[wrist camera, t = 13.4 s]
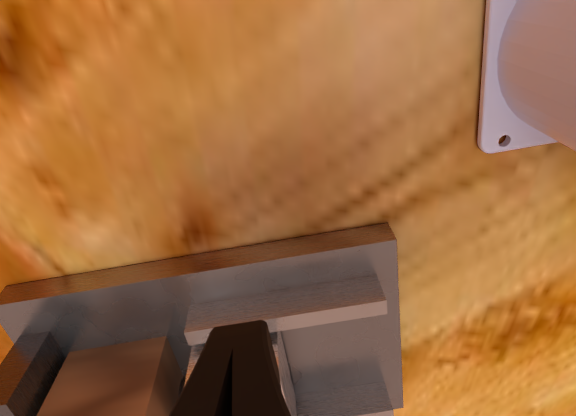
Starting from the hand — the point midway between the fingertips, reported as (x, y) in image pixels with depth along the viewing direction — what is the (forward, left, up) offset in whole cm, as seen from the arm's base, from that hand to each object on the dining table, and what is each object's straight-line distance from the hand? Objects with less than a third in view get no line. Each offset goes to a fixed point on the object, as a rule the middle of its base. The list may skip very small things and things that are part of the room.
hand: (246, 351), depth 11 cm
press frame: (+3, +9, -9) cm, 13 cm away
